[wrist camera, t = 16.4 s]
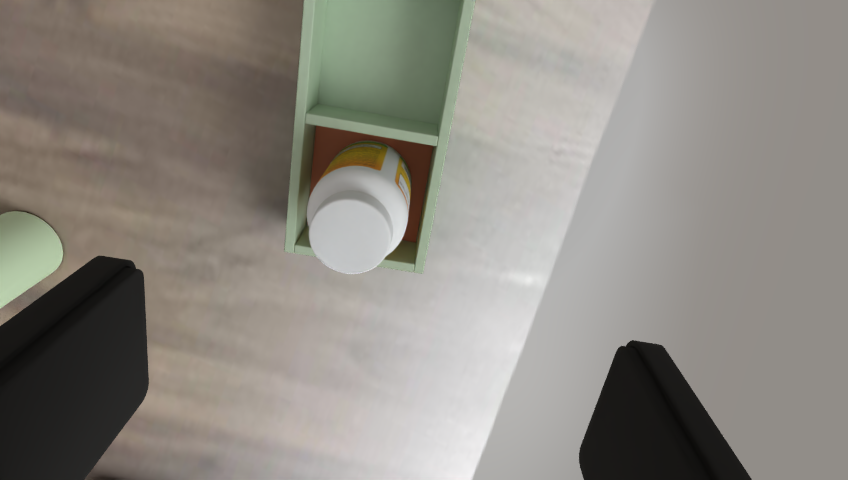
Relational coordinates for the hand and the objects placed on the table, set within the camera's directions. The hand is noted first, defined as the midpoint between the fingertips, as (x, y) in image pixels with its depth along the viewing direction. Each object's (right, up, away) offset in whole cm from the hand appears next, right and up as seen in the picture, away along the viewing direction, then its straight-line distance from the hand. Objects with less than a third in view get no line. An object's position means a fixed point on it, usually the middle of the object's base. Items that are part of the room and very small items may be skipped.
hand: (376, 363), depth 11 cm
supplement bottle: (-3, +6, +24) cm, 25 cm away
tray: (-1, +14, +22) cm, 26 cm away
